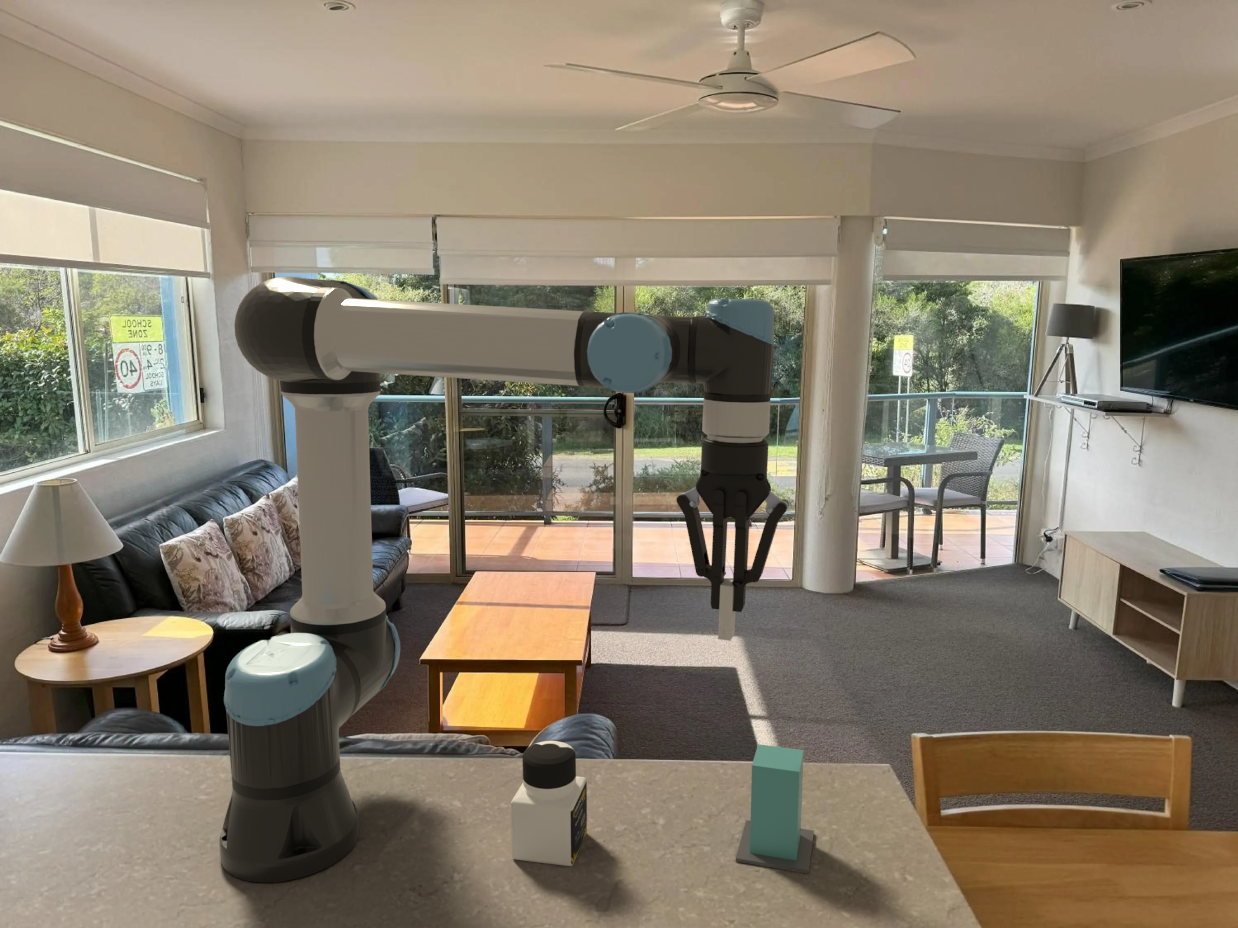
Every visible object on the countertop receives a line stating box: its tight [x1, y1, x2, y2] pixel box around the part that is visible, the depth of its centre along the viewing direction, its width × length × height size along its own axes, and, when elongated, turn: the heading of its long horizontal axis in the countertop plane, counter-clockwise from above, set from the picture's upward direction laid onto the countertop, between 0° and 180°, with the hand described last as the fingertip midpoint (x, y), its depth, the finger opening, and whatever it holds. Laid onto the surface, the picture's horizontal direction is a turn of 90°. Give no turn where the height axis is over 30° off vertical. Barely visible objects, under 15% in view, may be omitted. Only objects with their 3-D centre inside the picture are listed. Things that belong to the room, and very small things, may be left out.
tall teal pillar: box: [750, 743, 804, 861], centre depth 101 cm, size 5×5×11 cm
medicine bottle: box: [510, 740, 588, 867], centre depth 101 cm, size 7×7×12 cm
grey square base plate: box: [735, 819, 815, 874], centre depth 101 cm, size 8×8×7 cm
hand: (726, 635), depth 104 cm, fingers closed
